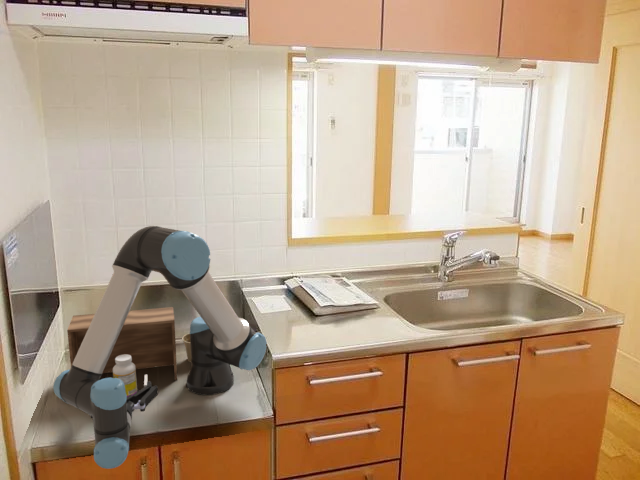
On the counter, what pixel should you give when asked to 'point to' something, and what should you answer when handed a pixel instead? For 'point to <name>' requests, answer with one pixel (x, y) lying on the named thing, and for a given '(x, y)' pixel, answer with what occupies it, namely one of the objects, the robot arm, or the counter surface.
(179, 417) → the counter surface
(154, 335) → the cubby
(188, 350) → the flower pot
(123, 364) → the supplement bottle
